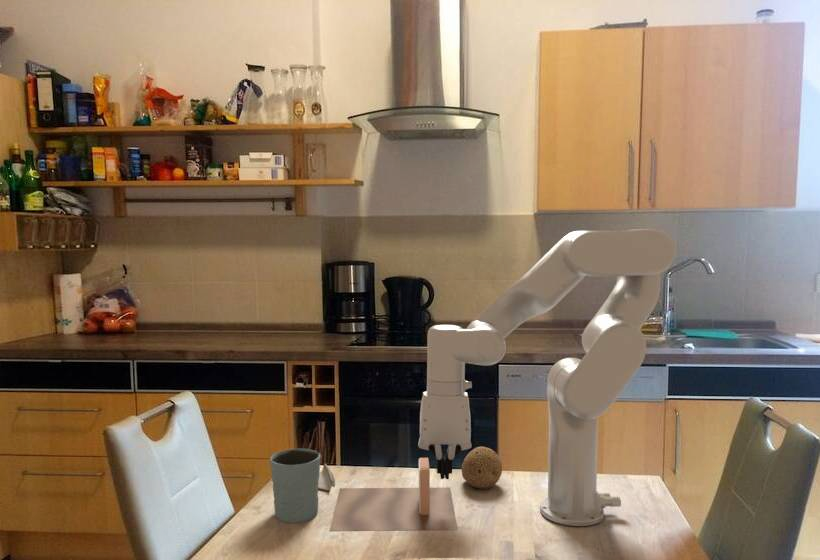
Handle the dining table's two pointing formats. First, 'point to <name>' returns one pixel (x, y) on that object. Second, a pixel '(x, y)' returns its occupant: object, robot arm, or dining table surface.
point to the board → (392, 510)
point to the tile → (424, 486)
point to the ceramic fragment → (326, 479)
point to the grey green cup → (295, 484)
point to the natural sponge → (482, 468)
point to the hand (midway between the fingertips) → (444, 476)
